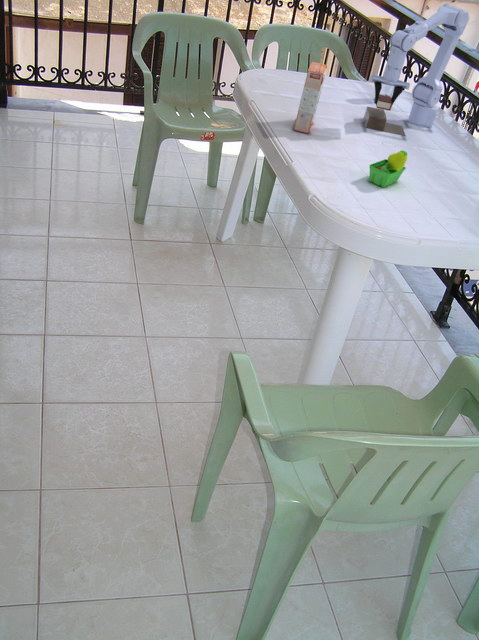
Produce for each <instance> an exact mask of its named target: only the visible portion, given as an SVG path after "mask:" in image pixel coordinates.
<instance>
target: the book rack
mask: <svg viewBox="0 0 479 640" xmlns="http://www.w3.org/2000/svg"><path fill="white" fill-rule="evenodd" d="M363 120H364V125H365V126H364V127H365V128H366V129H369V130H372V131H373V130H374V131H379V132H382V133H387V134H393V135H397V136H402V137H407V136H406V132H405V129H404V127H403V125H401V124H400V125H398V124H394V123H390V122H387V121H388V118H387V115H386V112H385V110H384V109H379V108H377V107H372V106H366V108H365V112H364V116H363Z"/></svg>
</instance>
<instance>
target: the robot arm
mask: <svg viewBox="0 0 479 640" xmlns="http://www.w3.org/2000/svg"><path fill="white" fill-rule="evenodd" d="M469 22H470V14H469V11H468V10H467V9H463V8H460V7H457V6H454V5H452V4H450V3H448V2H447V3H446V2H445V3H444V4H442V5H440V6H439V7H438V9H437V11H436V12H435V13H434V14H432V15H430V17H427V19H425V20H424V21H422V20H416V21H415V22H414V23H413V24H411V25H410V26H407V27H405V28H404V29H403V30H401V29H399V30H398V29H397V30H396V31H394V32H393V34H392V35H391V37H390V38H389V54H388V58H387V61H386V65H385V67H386V68H385V67H384V70H385V71H383V73H384V75H383V74H382V75H374V74H370V75H369V78H368V82H371V83H373V84H374V93H375V94H374V102H373V103H374V105H376V104H377V101H378V97H379V94H380V91H381V88H382V84H386V85H391V86H395V87H394V91H393V94H392V98H391V99H392V102H393V104H392V106H393V105H394V104H395V102H396V100H397V99H398V97H399V96H400V95H401V94H402V93H403V92H404V89H405V90H409V89H410V86H411V83H410V82H407V81H403V80H401V79H400V78H401V74H402V71H403V67H404V64H405V60H406V57H407V54H408V52H409V51H411V50H412V48H413V47H414V45H415V44H416V43H417V42H418V41H420V40H422V39H423V38H425V37H426V36H427V35H428V32H429V31H431V30H433V29H435V28H438V27H439V26H441V27H442V28H443V30H444V36H443V39H442V41H441V42H440V45H439V47H438V48H437V52H436V54H435V56H434V58H433V61H432V63H431V64H430V67H429V69H428V71H427V74H426V75H425V76H423V77H420V78H419V79H418V81H417V83H416V84H415V85H414V87H413V88H412V91H411V97H412V101H413V103H412V106H411V109H410V111H409V115H408V118H407V122H409V123H410V124H412V125H415V126H420V127H426V128H429V129H431V128H432V127H433V125H434V123H435V119H436V116H437V112H438V107H437V106H436V105H438V103H439V102H440V99H441V95H442V91H443V89H444V88H443V86H442V83H441V79H442V77H443V75H444V72H445V70H446V68H447V66H448V64H449V61H450V59H451V57H452V55H453V53H454V52H455V49H456V47H457V45H458V42H459V41H460V38H461V36H462V35H463V34H464V33H465V32H464V31H465V29H466V27H467V25H468V23H469ZM399 77H400V78H399Z"/></svg>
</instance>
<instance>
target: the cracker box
mask: <svg viewBox="0 0 479 640" xmlns="http://www.w3.org/2000/svg"><path fill="white" fill-rule="evenodd" d="M327 69H328V65H327V64H324V63H320V62H315V61H311V63H310V64H309V67H308V69H307V72H306V76H305V81H304V85H303V89H302V93H301V96H300V97H301V98H300V100H299V106H298V109H297V113H296V118H295V122H294V127H293V131H296V132H299V133H304V134H308V135H309V134H310V131H311V129H312V125H313V123H314V119H315V116H316V112H317V110H318V109H317V108H318V105H319V101H320V97H321V93H322V89H323V86H324V82H325V79H326V73H327Z"/></svg>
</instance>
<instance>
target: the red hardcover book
mask: <svg viewBox="0 0 479 640" xmlns="http://www.w3.org/2000/svg"><path fill="white" fill-rule="evenodd" d="M392 104H393V105H394V103H393V102H392V99H391V97H390V96H385V95H381V94H379V97H378V101H377V104H375V108H377V109H382V110H384V111H391V109H392V107H393V105H392Z"/></svg>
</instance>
